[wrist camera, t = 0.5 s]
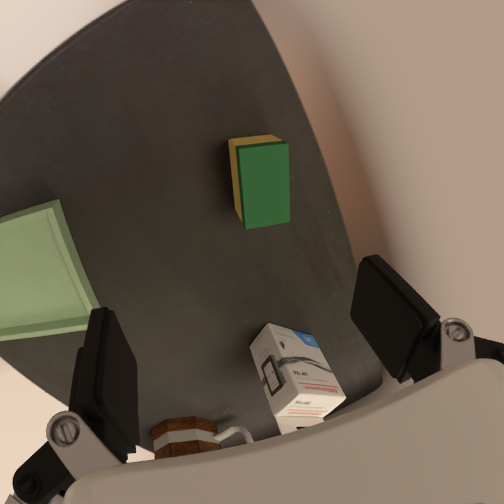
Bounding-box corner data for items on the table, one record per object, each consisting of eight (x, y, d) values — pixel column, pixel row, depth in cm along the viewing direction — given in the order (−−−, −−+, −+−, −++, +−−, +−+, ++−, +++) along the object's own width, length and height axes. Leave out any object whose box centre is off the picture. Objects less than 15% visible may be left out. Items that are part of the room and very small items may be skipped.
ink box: (313, 333, 43) (359, 416, 30) (293, 356, 44) (331, 437, 32) (267, 321, 39) (309, 417, 26) (247, 346, 40) (280, 440, 28)
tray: (-11, 332, 29) (-16, 342, 27) (-60, 240, 21) (-68, 249, 19) (104, 314, 32) (102, 327, 30) (59, 198, 24) (52, 207, 22)
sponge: (228, 139, 26) (238, 148, 22) (271, 134, 27) (288, 143, 23) (234, 209, 30) (245, 230, 26) (274, 202, 30) (290, 222, 27)
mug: (175, 449, 54) (187, 510, 41) (136, 428, 46) (143, 501, 34) (258, 422, 54) (281, 487, 41) (230, 396, 46) (253, 477, 34)
